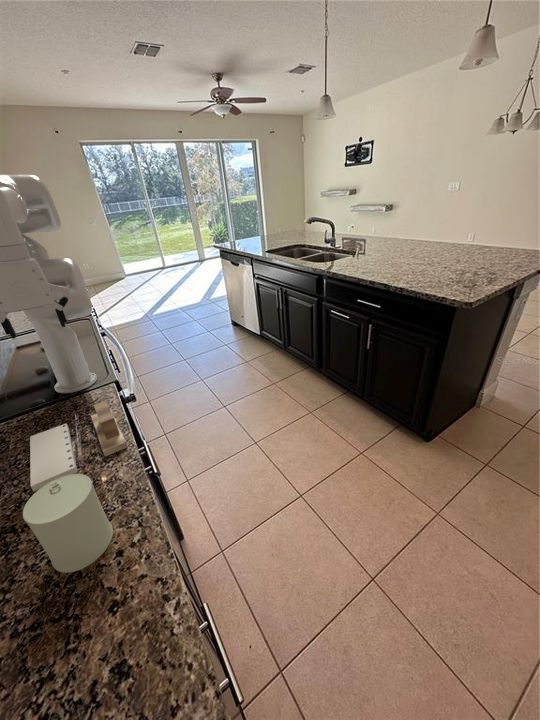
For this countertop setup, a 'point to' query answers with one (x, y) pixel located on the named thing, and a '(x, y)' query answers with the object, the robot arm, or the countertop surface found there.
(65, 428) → the board
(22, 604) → the countertop surface
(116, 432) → the stub
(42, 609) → the countertop surface
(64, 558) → the can
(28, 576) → the countertop surface
